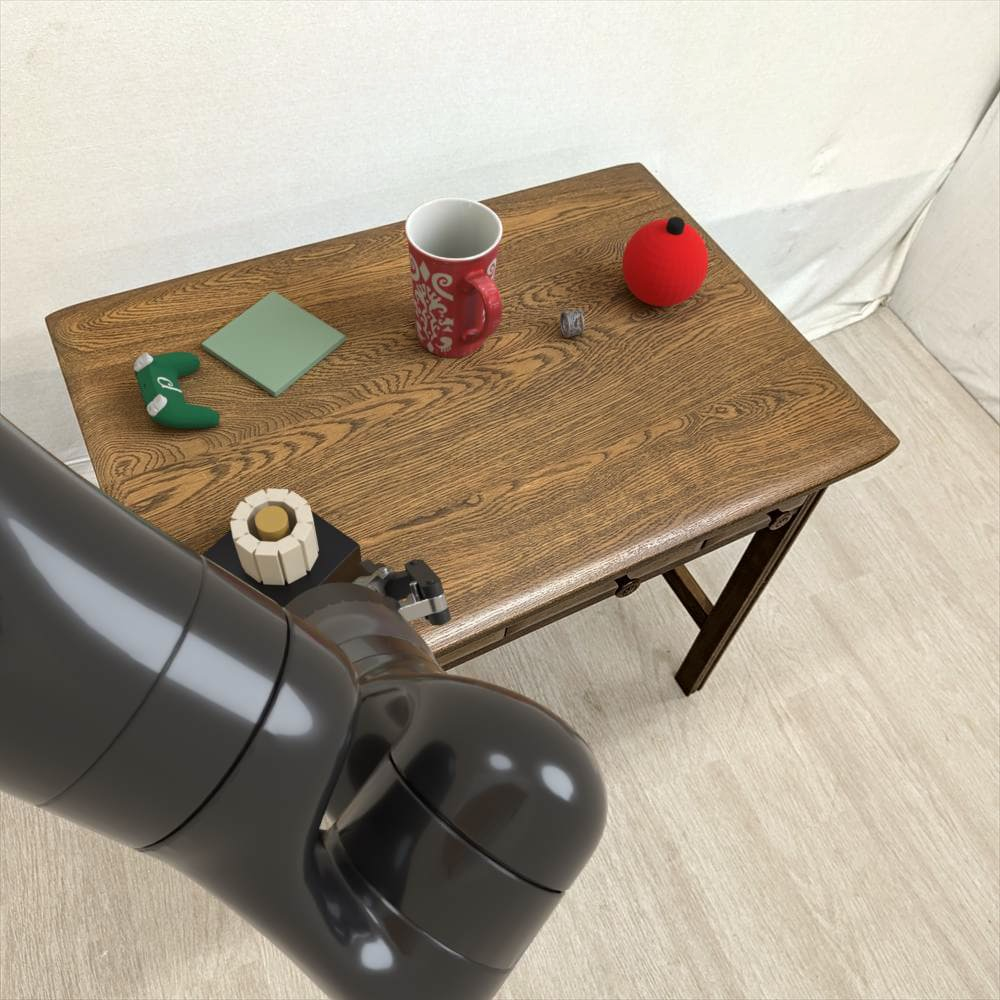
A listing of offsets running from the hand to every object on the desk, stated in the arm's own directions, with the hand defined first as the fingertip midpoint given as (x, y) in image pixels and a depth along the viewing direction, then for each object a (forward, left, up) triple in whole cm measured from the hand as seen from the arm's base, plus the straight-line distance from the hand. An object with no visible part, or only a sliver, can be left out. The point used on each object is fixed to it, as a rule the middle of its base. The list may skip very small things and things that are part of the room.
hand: (304, 596), depth 58 cm
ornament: (+56, +3, -15) cm, 58 cm away
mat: (+24, +29, -15) cm, 40 cm away
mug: (+36, +15, -15) cm, 42 cm away
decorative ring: (+45, +7, -15) cm, 48 cm away
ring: (+5, +9, -10) cm, 14 cm away
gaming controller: (+13, +30, -15) cm, 36 cm away
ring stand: (+5, +9, -15) cm, 18 cm away
